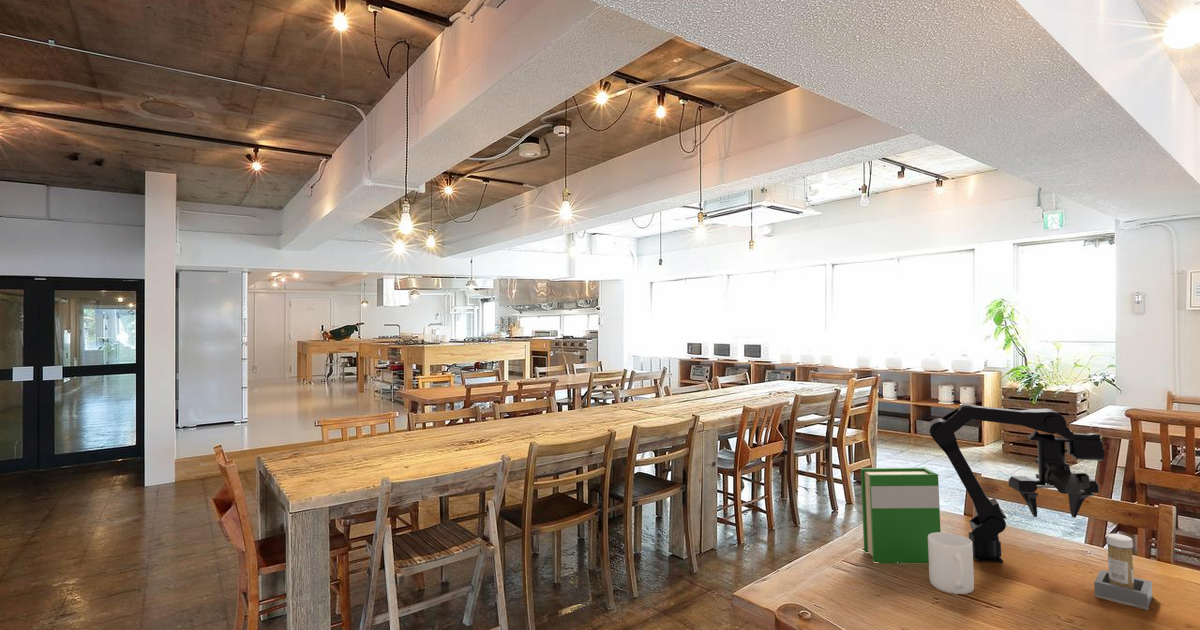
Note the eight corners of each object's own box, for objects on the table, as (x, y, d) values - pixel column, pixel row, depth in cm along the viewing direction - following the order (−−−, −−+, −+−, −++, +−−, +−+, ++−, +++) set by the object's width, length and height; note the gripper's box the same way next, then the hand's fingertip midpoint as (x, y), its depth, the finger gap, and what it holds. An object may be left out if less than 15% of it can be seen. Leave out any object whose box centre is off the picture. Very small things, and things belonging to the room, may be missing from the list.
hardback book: (874, 563, 156) (870, 475, 156) (864, 552, 163) (860, 468, 163) (941, 563, 154) (938, 474, 154) (928, 552, 161) (925, 467, 162)
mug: (957, 576, 146) (955, 531, 146) (991, 599, 134) (989, 549, 134) (921, 579, 146) (919, 533, 146) (952, 601, 134) (950, 551, 134)
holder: (1147, 610, 127) (1147, 594, 127) (1094, 596, 134) (1094, 581, 134) (1152, 596, 133) (1151, 581, 133) (1101, 584, 140) (1100, 569, 140)
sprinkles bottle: (1140, 597, 132) (1137, 538, 132) (1125, 600, 131) (1122, 541, 131) (1118, 588, 136) (1116, 531, 136) (1103, 590, 135) (1101, 534, 135)
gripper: (1030, 465, 144) (1033, 527, 143) (1113, 465, 141) (1116, 528, 141) (1006, 454, 155) (1008, 512, 154) (1083, 454, 152) (1085, 513, 152)
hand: (1054, 517), depth 150 cm, fingers open, 9 cm apart
